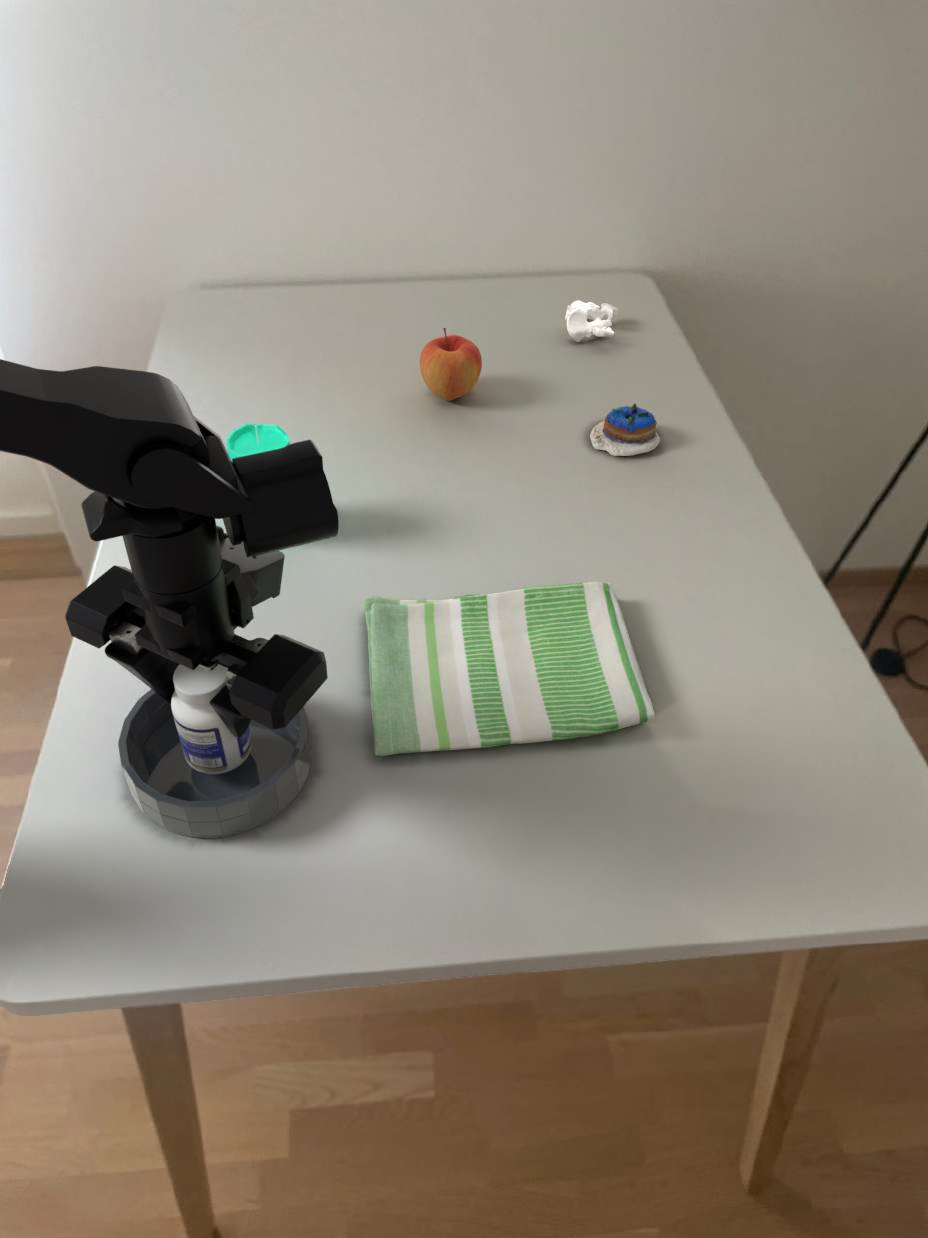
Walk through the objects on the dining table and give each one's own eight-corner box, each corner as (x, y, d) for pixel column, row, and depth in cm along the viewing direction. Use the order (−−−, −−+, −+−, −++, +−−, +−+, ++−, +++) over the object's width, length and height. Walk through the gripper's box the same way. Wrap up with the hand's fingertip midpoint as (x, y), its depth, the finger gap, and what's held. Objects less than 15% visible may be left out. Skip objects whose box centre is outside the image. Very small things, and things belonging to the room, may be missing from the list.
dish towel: (363, 609, 91) (362, 587, 89) (607, 593, 94) (611, 572, 92) (375, 762, 79) (374, 741, 77) (656, 739, 81) (662, 718, 79)
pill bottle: (227, 713, 80) (211, 636, 73) (265, 750, 77) (253, 674, 71) (170, 748, 77) (149, 672, 71) (208, 788, 74) (190, 713, 68)
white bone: (616, 323, 125) (565, 312, 125) (609, 353, 128) (559, 342, 128) (622, 295, 130) (573, 284, 130) (614, 323, 133) (567, 313, 134)
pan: (142, 861, 72) (131, 830, 69) (119, 718, 81) (109, 686, 78) (330, 808, 75) (327, 777, 73) (288, 678, 85) (284, 646, 82)
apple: (444, 417, 115) (446, 356, 109) (407, 390, 119) (407, 330, 113) (492, 398, 118) (496, 337, 112) (454, 372, 122) (456, 312, 116)
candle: (294, 546, 97) (283, 445, 89) (234, 544, 97) (217, 442, 89) (302, 508, 101) (292, 409, 93) (245, 506, 101) (229, 406, 93)
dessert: (660, 417, 115) (664, 397, 109) (657, 471, 114) (660, 453, 108) (592, 414, 116) (592, 393, 110) (588, 467, 115) (588, 449, 109)
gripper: (366, 542, 66) (372, 695, 77) (148, 459, 72) (182, 613, 82) (267, 646, 59) (290, 798, 70) (34, 544, 64) (89, 700, 75)
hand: (211, 719), depth 74 cm, fingers closed on pill bottle, 5 cm apart
